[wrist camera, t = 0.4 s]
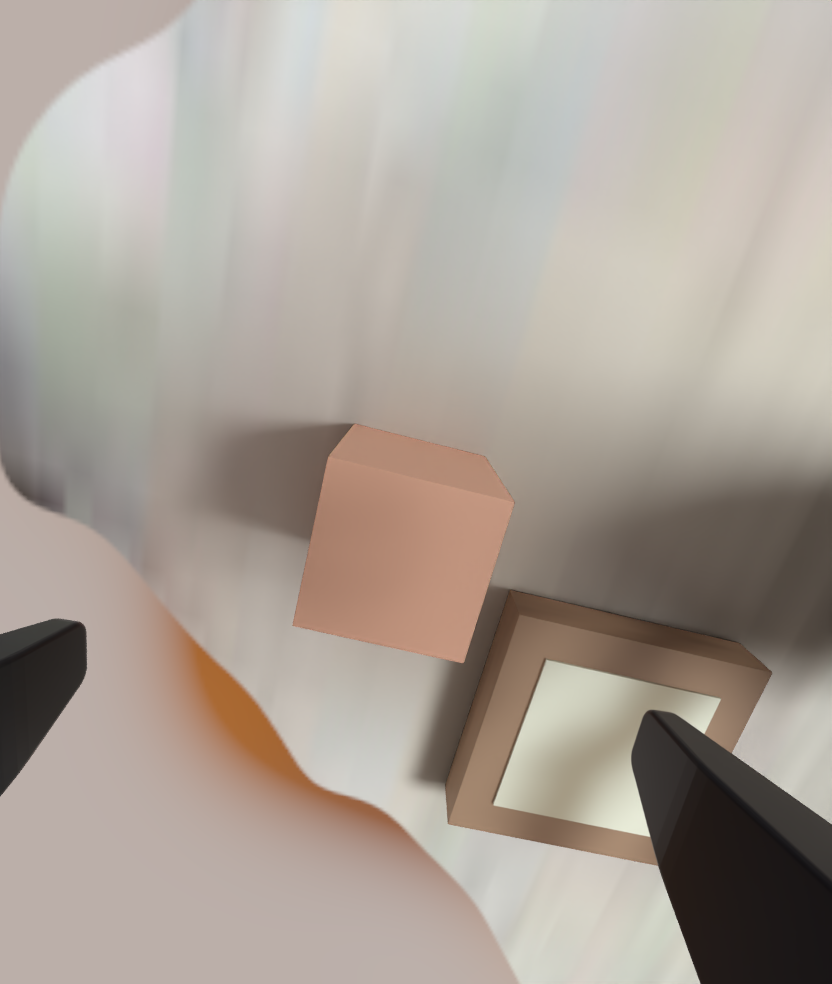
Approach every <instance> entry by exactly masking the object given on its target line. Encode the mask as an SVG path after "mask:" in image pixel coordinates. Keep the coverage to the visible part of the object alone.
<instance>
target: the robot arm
mask: <svg viewBox="0 0 832 984" xmlns="http://www.w3.org/2000/svg"><path fill="white" fill-rule="evenodd" d="M86 647H87V643H86V629H85V626H84V625H83V624H82V623H81V622H77V621H71V620H64V619H51V620H48V621H44V622H41V623H37V624H34V625H31V626H27V627H24V628H20V629H17V630H14V631H10V632H7V633H3V634H0V796H1V795H2V794H3V793H4V791H5V790H6V789H7V787H8V786H9V785H10V784H11V783H12V781H13V780H14V779H15V778H16V776H17V775H18V774H19V773H20V771H21V770H22V768H23V767H24V766H25V764H26V763H27V762H28V760H29V759H30V757H31V756H32V755H33V753H34V752H35V750H36V749H37V747H38V746H39V744H40V743H41V742H42V740H43V739H44V737H45V736H46V734H47V733H48V731H49V730H50V729H51V727H52V726H53V724H54V723H55V721H56V720H57V718H58V717H59V716H60V714H61V713H62V711H63V710H64V708H65V707H66V705H67V704H68V702H69V701H70V699H71V698H72V696H73V695H74V694H75V692H76V691H77V689H78V688H79V687H80V685H81V683H82V681H83V679H84V677H85V674H86V670H87V648H86ZM631 765H632V770H633V773H634V777H635V781H636V785H637V789H638V792H639V796H640V800H641V804H642V808H643V811H644V815H645V819H646V823H647V827H648V830H649V834H650V838H651V842H652V846H653V850H654V853H655V856H656V860H657V863H658V867H659V870H660V873H661V876H662V879H663V882H664V884H665V887H666V890H667V893H668V896H669V898H670V901H671V904H672V907H673V909H674V912H675V915H676V918H677V920H678V923H679V926H680V929H681V931H682V934H683V937H684V939H685V942H686V945H687V948H688V950H689V953H690V956H691V959H692V961H693V964H694V967H695V970H696V972H697V975H698V978H699V981H700V983H701V984H832V824H830V823H829V822H827V821H826V820H825V819H823V818H822V817H820V816H819V815H818V814H816V813H815V812H813V811H812V810H811V809H809V808H808V807H806V806H805V805H803V804H802V803H801V802H799V801H798V800H796V799H795V798H794V797H792V796H791V795H789V794H788V793H787V792H785V791H784V790H782V789H781V788H780V787H778V786H777V785H775V784H774V783H772V782H771V781H770V780H768V779H767V778H765V777H764V776H763V775H761V774H760V773H758V772H757V771H756V770H754V769H753V768H751V767H750V766H749V765H747V764H746V763H744V762H743V761H741V760H740V759H739V758H737V757H736V756H734V755H733V754H732V753H730V752H729V751H727V750H726V749H725V748H723V747H722V746H720V745H719V744H718V743H716V742H715V741H713V740H712V739H710V738H709V737H708V736H706V735H705V734H703V733H702V732H701V731H699V730H698V729H696V728H695V727H694V726H692V725H691V724H689V723H688V722H687V721H685V720H684V719H682V718H681V717H679V716H678V715H676V714H675V713H672V712H666V711H659V710H648V711H646V713H645V714H644V716H643V718H642V721H641V724H640V727H639V730H638V733H637V736H636V739H635V742H634V745H633V748H632V753H631Z"/></svg>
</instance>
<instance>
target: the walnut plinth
mask: <svg viewBox="0 0 832 984" xmlns="http://www.w3.org/2000/svg"><path fill="white" fill-rule="evenodd" d="M771 675H772V672H771V671H770V670H769V669H768V668H767V667H766V666H765V665H763V664H762V663H761V662H760V661H759V660H758V659H757V658H756V657H755V656H754V655H752V654H751V653H750V652H749V651H748V650H747V649H746V648H745V647H744V646H743V645H741V644H740V643H737V642H732V641H728V640H724V639H719V638H715V637H711V636H707V635H702V634H698V633H694V632H689V631H685V630H681V629H676V628H672V627H668V626H663V625H659V624H655V623H651V622H646V621H642V620H638V619H633V618H629V617H625V616H620V615H616V614H612V613H608V612H603V611H599V610H595V609H590V608H586V607H582V606H577V605H573V604H569V603H565V602H560V601H556V600H552V599H547V598H543V597H539V596H534V595H530V594H526V593H522V592H517V591H513V590H510V591H509V594H508V597H507V600H506V603H505V606H504V609H503V612H502V615H501V618H500V621H499V624H498V627H497V630H496V633H495V636H494V639H493V642H492V645H491V648H490V651H489V654H488V657H487V660H486V663H485V666H484V669H483V672H482V675H481V678H480V681H479V684H478V687H477V690H476V693H475V696H474V699H473V702H472V705H471V708H470V712H469V715H468V718H467V721H466V724H465V727H464V730H463V733H462V736H461V739H460V742H459V745H458V748H457V751H456V754H455V757H454V760H453V763H452V766H451V769H450V772H449V775H448V778H447V781H446V784H445V789H446V803H447V818H448V824H450V825H455V826H460V827H465V828H470V829H475V830H480V831H485V832H490V833H495V834H500V835H505V836H510V837H515V838H521V839H526V840H531V841H536V842H541V843H546V844H551V845H556V846H561V847H566V848H571V849H576V850H581V851H586V852H591V853H596V854H601V855H606V856H611V857H616V858H622V859H627V860H632V861H637V862H642V863H647V864H652V865H657V866H658V863H657V860H656V856H655V853H654V850H653V846H652V842H651V838H650V834H649V830H648V827H647V823H646V819H645V815H644V811H643V808H642V804H641V800H640V796H639V792H638V789H637V785H636V781H635V777H634V773H633V770H632V765H631V753H632V748H633V745H634V742H635V739H636V736H637V733H638V730H639V727H640V724H641V721H642V718H643V716H644V714H645V713H646V711H648V710H659V711H666V712H672V713H675V714H676V715H678V716H679V717H681V718H682V719H684V720H685V721H687V722H688V723H689V724H691V725H692V726H694V727H695V728H696V729H698V730H699V731H701V732H702V733H703V734H705V735H706V736H708V737H709V738H710V739H712V740H713V741H715V742H716V743H718V744H719V745H720V746H722V747H723V748H725V749H726V750H727V751H729V752H730V753H732V751H733V749H734V747H735V745H736V744H737V742H738V740H739V738H740V736H741V734H742V732H743V730H744V728H745V726H746V724H747V722H748V720H749V718H750V716H751V714H752V712H753V710H754V708H755V706H756V704H757V702H758V700H759V698H760V696H761V694H762V692H763V690H764V688H765V686H766V684H767V683H768V681H769V679H770V677H771Z"/></svg>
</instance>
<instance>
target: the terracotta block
mask: <svg viewBox="0 0 832 984" xmlns="http://www.w3.org/2000/svg"><path fill="white" fill-rule="evenodd" d="M514 504H515V502H514V500H513V499H512V497H511V496H510V494H509V492H508V491H507V489H506V488H505V486H504V485H503V483H502V482H501V480H500V479H499V477H498V476H497V474H496V473H495V471H494V469H493V468H492V466H491V465H490V463H489V462H488V460H487V459H486V457H485V456H482V455H478V454H474V453H470V452H466V451H462V450H458V449H454V448H450V447H446V446H442V445H438V444H434V443H430V442H426V441H422V440H418V439H414V438H410V437H406V436H402V435H398V434H394V433H390V432H386V431H382V430H378V429H374V428H370V427H366V426H362V425H358V424H354V425H353V426H352V427H351V428H350V430H349V431H348V432H347V433H346V435H345V436H344V437H343V438H342V440H341V441H340V442H339V443H338V445H337V446H336V447H335V449H334V450H333V451H332V452H331V454H330V455H329V456H328V459H327V464H326V469H325V474H324V478H323V483H322V488H321V493H320V497H319V502H318V507H317V511H316V516H315V521H314V526H313V530H312V535H311V540H310V545H309V549H308V554H307V559H306V564H305V568H304V573H303V578H302V583H301V587H300V592H299V597H298V602H297V606H296V611H295V616H294V621H293V625H292V626H296V627H300V628H305V629H309V630H314V631H318V632H323V633H327V634H332V635H337V636H341V637H346V638H350V639H355V640H359V641H364V642H368V643H373V644H377V645H382V646H386V647H391V648H395V649H400V650H405V651H409V652H414V653H418V654H423V655H427V656H432V657H436V658H441V659H445V660H450V661H454V662H459V663H464V661H465V658H466V654H467V651H468V648H469V645H470V642H471V639H472V636H473V632H474V629H475V626H476V623H477V620H478V617H479V614H480V610H481V607H482V604H483V601H484V598H485V595H486V592H487V589H488V585H489V582H490V579H491V576H492V573H493V570H494V567H495V563H496V560H497V557H498V554H499V551H500V548H501V545H502V541H503V538H504V535H505V532H506V529H507V526H508V523H509V519H510V516H511V513H512V510H513V507H514Z"/></svg>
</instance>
